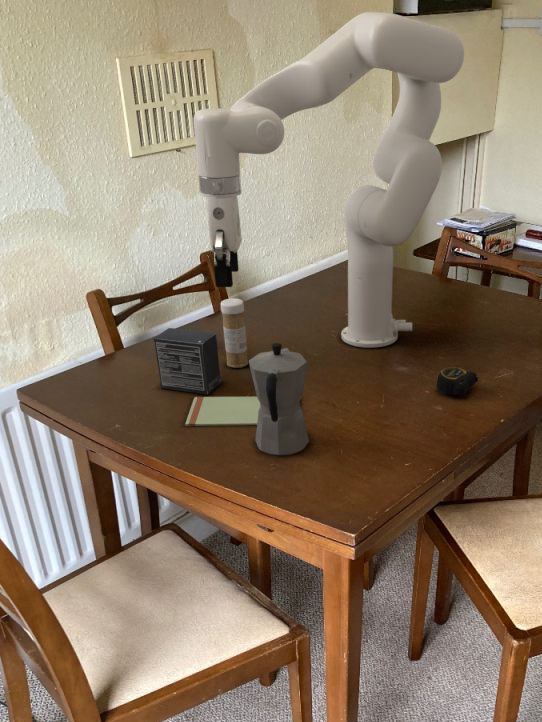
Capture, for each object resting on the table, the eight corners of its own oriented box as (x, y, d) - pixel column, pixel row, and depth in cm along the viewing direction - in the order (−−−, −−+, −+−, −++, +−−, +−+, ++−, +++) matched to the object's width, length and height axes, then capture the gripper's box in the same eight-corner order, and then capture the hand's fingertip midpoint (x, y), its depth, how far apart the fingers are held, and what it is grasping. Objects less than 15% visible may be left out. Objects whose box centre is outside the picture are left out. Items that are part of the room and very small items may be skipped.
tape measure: (462, 402, 144) (463, 383, 142) (429, 393, 147) (430, 375, 145) (477, 388, 149) (479, 370, 147) (445, 380, 152) (447, 363, 150)
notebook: (299, 397, 147) (299, 395, 146) (296, 424, 137) (296, 422, 137) (194, 398, 147) (194, 396, 146) (185, 426, 138) (185, 423, 137)
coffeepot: (260, 424, 138) (253, 327, 128) (313, 425, 137) (310, 328, 127) (246, 468, 125) (237, 365, 115) (304, 470, 124) (300, 366, 114)
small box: (223, 382, 153) (218, 331, 147) (208, 396, 148) (202, 344, 142) (176, 375, 156) (169, 325, 150) (159, 388, 151) (151, 337, 145)
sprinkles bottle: (240, 358, 162) (235, 295, 155) (252, 365, 160) (247, 301, 152) (222, 364, 160) (215, 300, 153) (234, 371, 157) (228, 306, 150)
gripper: (235, 195, 133) (242, 293, 143) (245, 176, 147) (251, 265, 157) (192, 195, 133) (201, 293, 143) (206, 175, 147) (214, 265, 157)
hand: (227, 278), depth 150 cm, fingers open, 9 cm apart
